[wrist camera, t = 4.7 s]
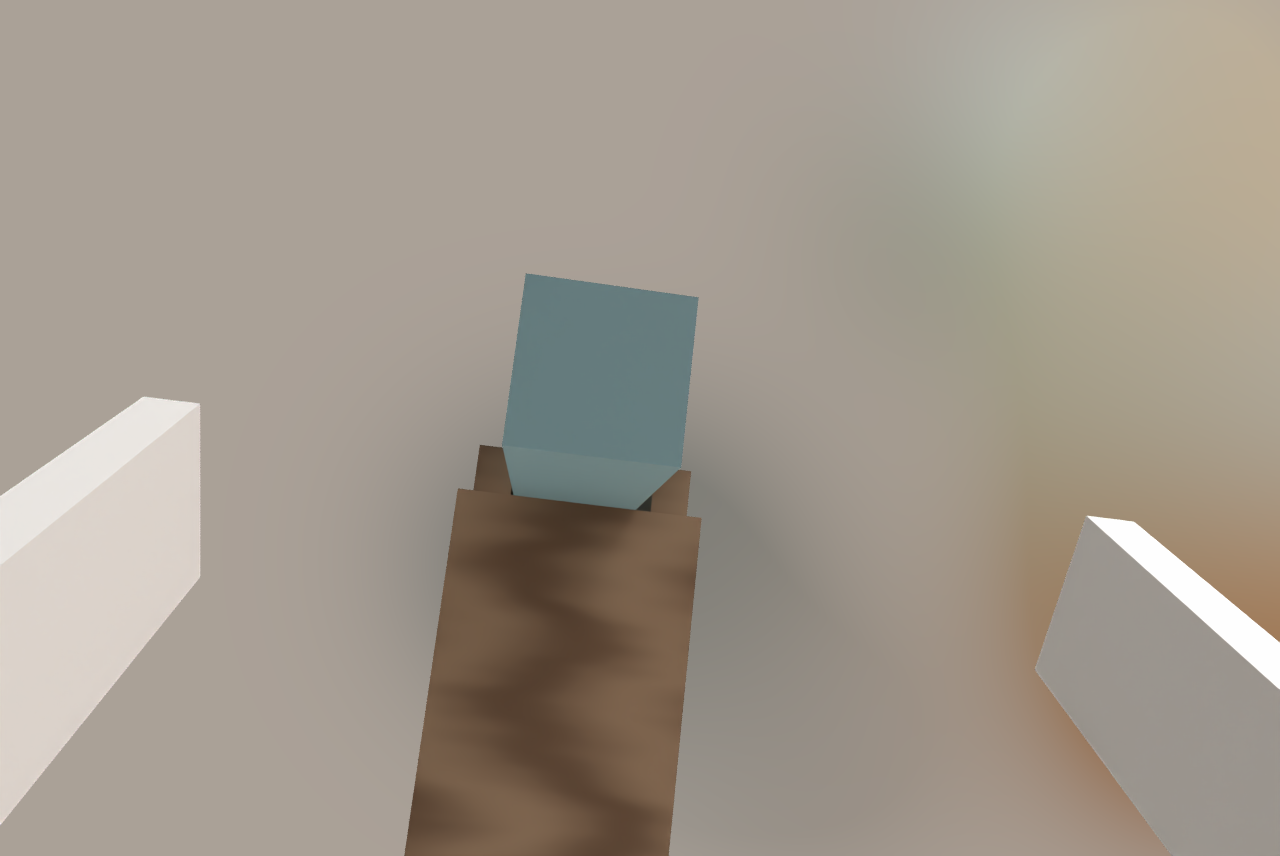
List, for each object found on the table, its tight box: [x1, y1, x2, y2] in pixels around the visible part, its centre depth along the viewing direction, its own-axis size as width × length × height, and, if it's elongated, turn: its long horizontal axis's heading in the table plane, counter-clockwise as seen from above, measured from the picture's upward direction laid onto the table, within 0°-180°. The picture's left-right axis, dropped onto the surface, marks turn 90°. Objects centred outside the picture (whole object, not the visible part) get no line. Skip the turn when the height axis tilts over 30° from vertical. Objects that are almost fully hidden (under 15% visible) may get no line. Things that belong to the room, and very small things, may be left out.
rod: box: [502, 274, 698, 510], centre depth 34 cm, size 4×24×4 cm, turn 6°
